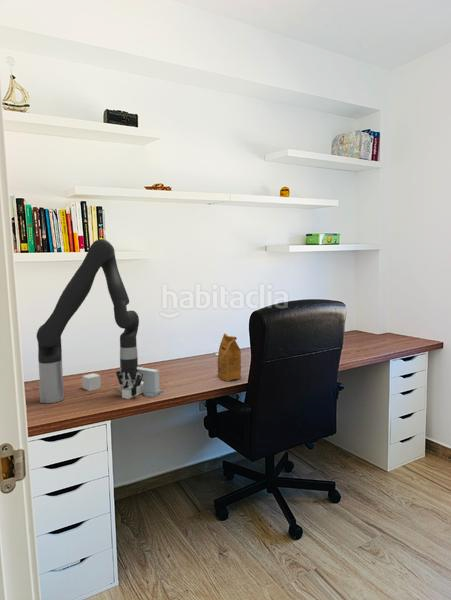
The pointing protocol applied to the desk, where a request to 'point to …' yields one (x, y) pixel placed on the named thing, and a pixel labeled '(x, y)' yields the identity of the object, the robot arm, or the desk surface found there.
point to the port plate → (148, 382)
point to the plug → (128, 394)
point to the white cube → (91, 381)
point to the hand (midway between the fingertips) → (130, 394)
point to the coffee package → (229, 359)
